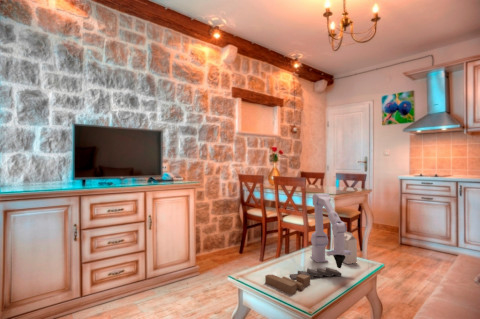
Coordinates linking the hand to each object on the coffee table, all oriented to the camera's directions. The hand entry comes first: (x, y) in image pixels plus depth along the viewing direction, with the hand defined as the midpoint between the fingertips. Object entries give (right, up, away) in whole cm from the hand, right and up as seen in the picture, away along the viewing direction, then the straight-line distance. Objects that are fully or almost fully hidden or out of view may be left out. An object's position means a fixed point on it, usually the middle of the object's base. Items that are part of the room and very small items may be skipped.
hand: (339, 267), depth 152 cm
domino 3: (-11, -3, -2) cm, 12 cm away
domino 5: (0, -3, 0) cm, 3 cm away
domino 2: (-17, -3, -3) cm, 18 cm away
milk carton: (+13, -5, +20) cm, 24 cm away
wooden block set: (-31, -4, -12) cm, 34 cm away
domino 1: (-21, -4, -4) cm, 22 cm away
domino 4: (-5, -3, -1) cm, 6 cm away
